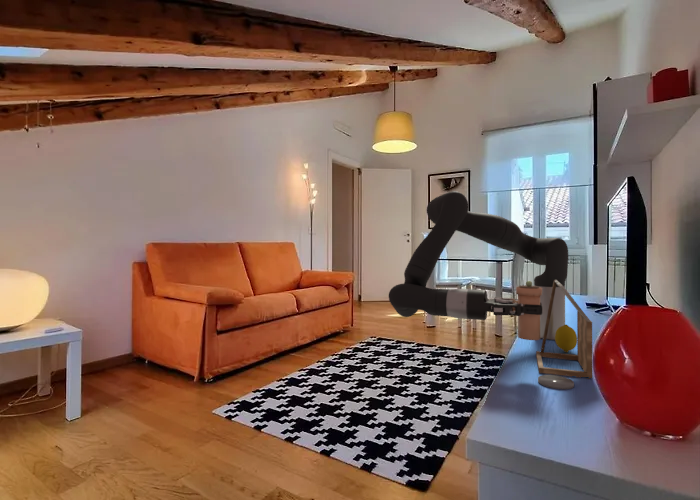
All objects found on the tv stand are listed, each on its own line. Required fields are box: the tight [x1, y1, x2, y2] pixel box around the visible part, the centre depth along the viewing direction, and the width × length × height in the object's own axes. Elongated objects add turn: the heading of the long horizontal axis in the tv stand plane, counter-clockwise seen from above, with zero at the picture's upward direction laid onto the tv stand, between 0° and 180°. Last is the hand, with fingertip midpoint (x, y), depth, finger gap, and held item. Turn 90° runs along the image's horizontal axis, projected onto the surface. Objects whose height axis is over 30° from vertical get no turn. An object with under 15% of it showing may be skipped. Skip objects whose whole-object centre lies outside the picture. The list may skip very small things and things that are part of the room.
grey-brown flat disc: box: [537, 374, 575, 390], centre depth 85 cm, size 7×7×1 cm
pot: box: [515, 280, 542, 341], centre depth 91 cm, size 6×6×14 cm
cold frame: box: [535, 280, 593, 379], centre depth 97 cm, size 16×11×21 cm
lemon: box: [554, 324, 577, 353], centre depth 110 cm, size 6×6×8 cm
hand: (541, 308), depth 90 cm, fingers closed on pot, 4 cm apart
